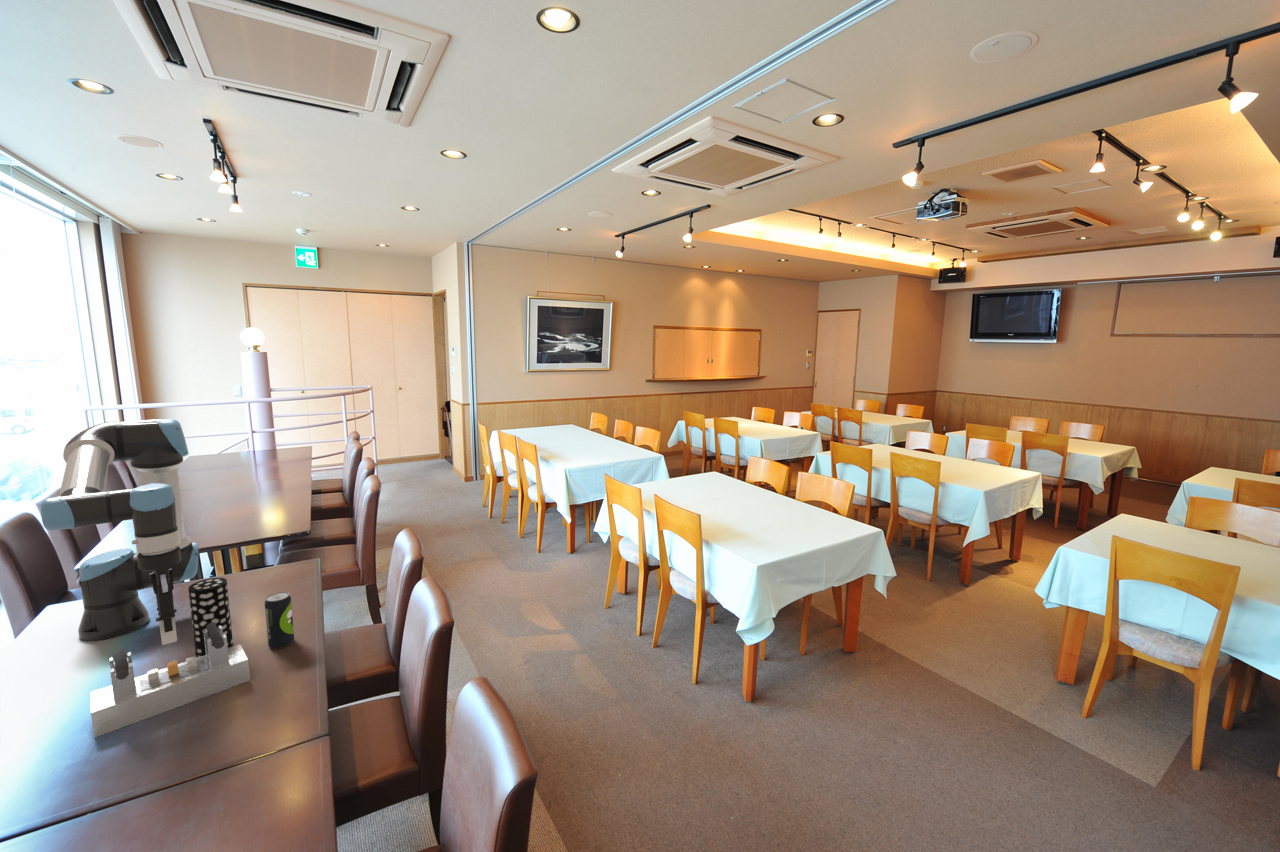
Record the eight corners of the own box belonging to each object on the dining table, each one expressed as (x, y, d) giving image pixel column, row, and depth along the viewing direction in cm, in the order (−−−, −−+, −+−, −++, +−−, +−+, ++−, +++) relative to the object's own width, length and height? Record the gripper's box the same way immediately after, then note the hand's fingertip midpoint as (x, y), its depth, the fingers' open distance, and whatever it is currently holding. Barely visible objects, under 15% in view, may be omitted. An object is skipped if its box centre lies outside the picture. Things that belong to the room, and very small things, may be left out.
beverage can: (263, 647, 149) (259, 598, 147) (285, 636, 154) (281, 589, 152) (277, 652, 146) (273, 603, 144) (299, 641, 152) (295, 593, 150)
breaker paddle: (167, 672, 126) (166, 663, 126) (177, 669, 127) (176, 660, 127) (168, 676, 125) (167, 666, 124) (178, 673, 126) (177, 663, 126)
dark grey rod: (206, 631, 135) (205, 624, 134) (216, 628, 136) (215, 621, 136) (215, 651, 126) (214, 643, 126) (225, 648, 127) (224, 640, 127)
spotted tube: (211, 660, 142) (204, 592, 139) (187, 656, 144) (180, 588, 141) (240, 643, 150) (234, 579, 147) (217, 640, 152) (210, 576, 149)
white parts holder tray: (93, 715, 120) (86, 662, 118) (242, 664, 140) (237, 618, 139) (94, 737, 113) (86, 682, 111) (250, 680, 134) (245, 632, 132)
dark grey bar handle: (114, 658, 122) (113, 650, 122) (126, 654, 124) (125, 647, 124) (116, 682, 114) (115, 674, 113) (129, 678, 115) (128, 670, 115)
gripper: (134, 546, 123) (146, 637, 126) (138, 561, 114) (150, 659, 118) (176, 538, 129) (186, 626, 132) (183, 552, 120) (193, 646, 123)
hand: (169, 641), depth 125 cm, fingers closed
